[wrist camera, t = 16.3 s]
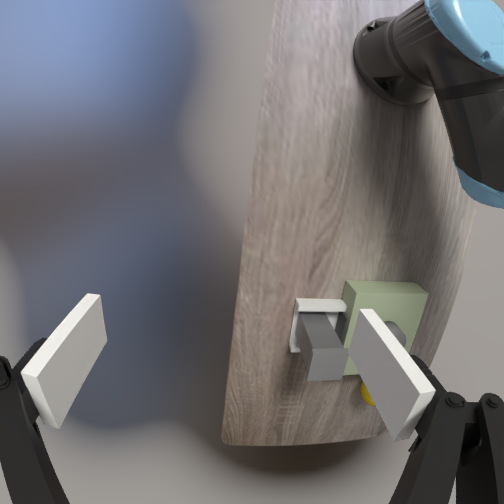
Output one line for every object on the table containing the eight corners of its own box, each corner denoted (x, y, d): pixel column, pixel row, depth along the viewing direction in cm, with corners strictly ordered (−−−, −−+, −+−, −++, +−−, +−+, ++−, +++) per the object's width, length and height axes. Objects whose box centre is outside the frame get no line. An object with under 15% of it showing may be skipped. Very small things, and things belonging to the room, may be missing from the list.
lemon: (379, 383, 58) (393, 408, 50) (354, 390, 58) (367, 416, 50) (380, 364, 56) (396, 389, 48) (355, 371, 56) (369, 398, 48)
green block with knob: (286, 359, 54) (293, 388, 46) (299, 278, 49) (310, 301, 41) (392, 355, 55) (409, 379, 48) (414, 282, 51) (438, 301, 43)
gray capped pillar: (292, 335, 52) (306, 381, 40) (296, 310, 50) (313, 353, 39) (321, 335, 52) (341, 379, 41) (327, 310, 50) (349, 352, 39)
